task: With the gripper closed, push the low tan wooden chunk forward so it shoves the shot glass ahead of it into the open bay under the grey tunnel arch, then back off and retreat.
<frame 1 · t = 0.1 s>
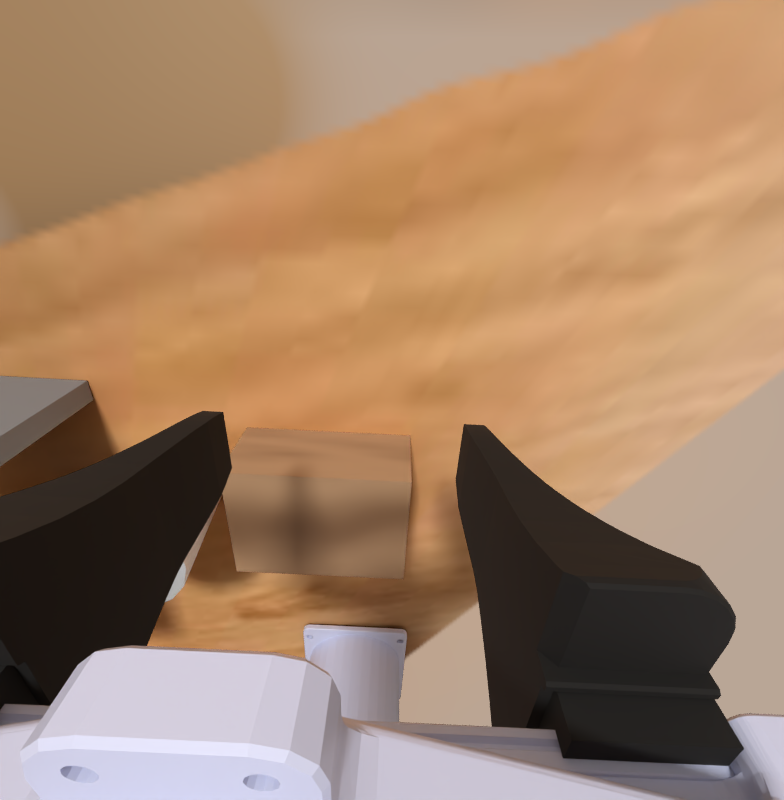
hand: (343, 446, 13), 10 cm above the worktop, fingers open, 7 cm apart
tan wooden chunk: (330, 476, 26), on the worktop
shot glass: (182, 469, 26), on the worktop
grey tunnel arch: (42, 464, 26), on the worktop
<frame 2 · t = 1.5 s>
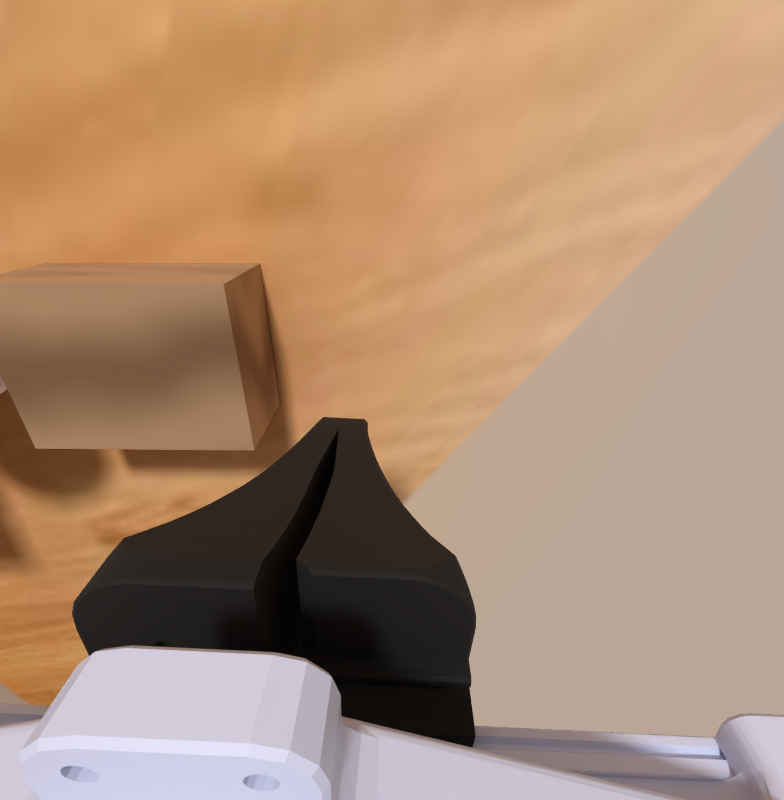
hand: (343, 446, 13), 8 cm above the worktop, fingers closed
tan wooden chunk: (175, 337, 20), on the worktop
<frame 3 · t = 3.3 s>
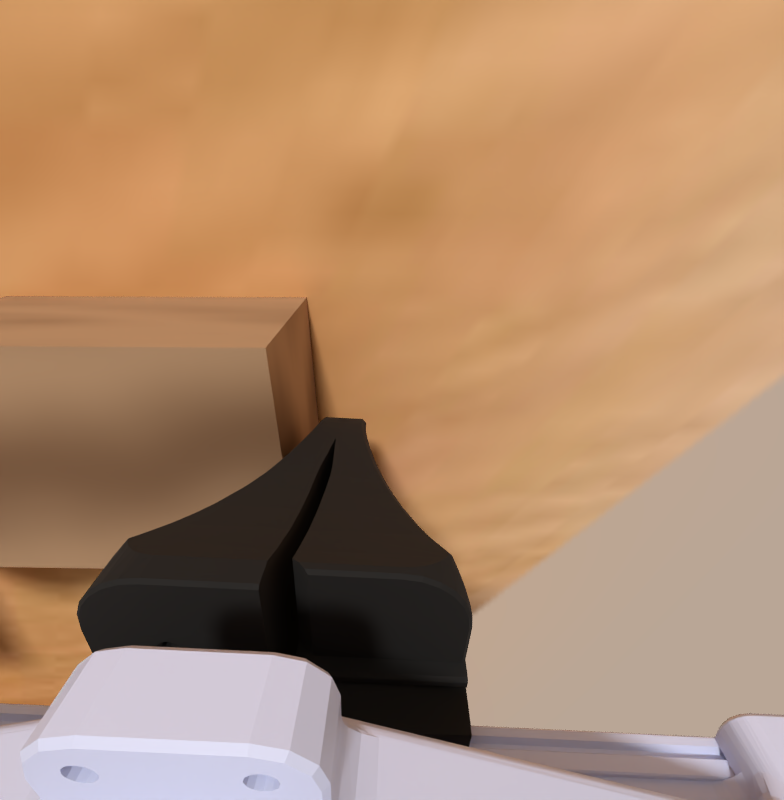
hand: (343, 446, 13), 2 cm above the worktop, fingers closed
tan wooden chunk: (182, 395, 15), on the worktop
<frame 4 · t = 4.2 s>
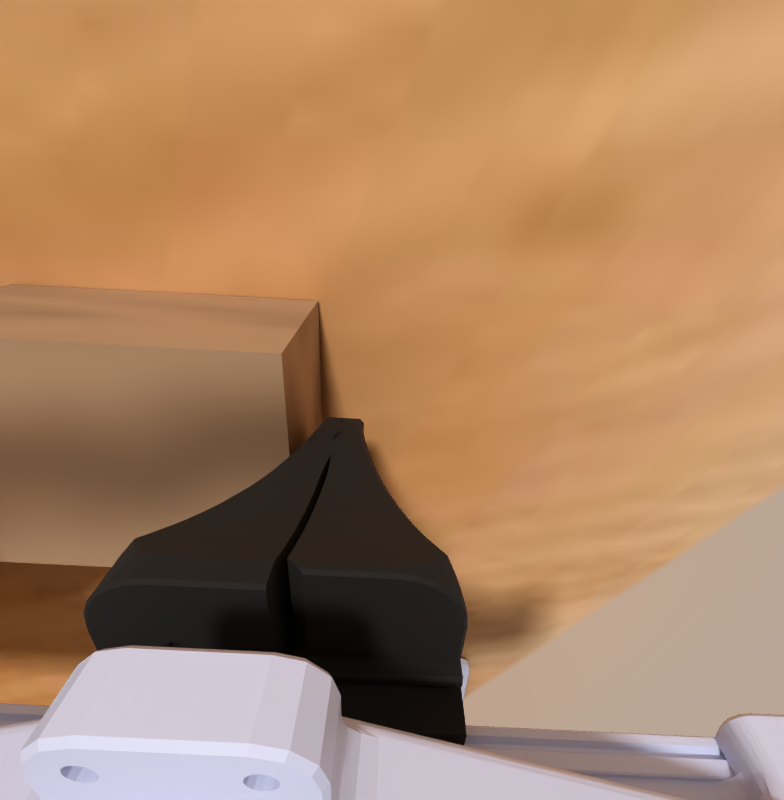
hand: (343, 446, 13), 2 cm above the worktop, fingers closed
tan wooden chunk: (185, 392, 15), on the worktop, touching gripper, shot glass
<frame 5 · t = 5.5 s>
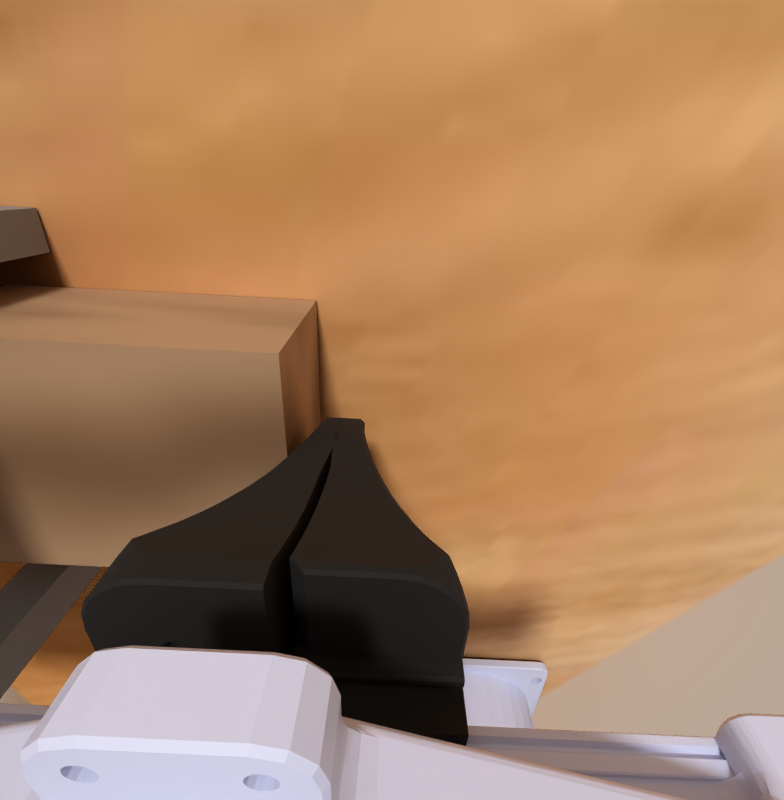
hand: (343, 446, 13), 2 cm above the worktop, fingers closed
tan wooden chunk: (184, 392, 15), on the worktop, touching gripper, shot glass
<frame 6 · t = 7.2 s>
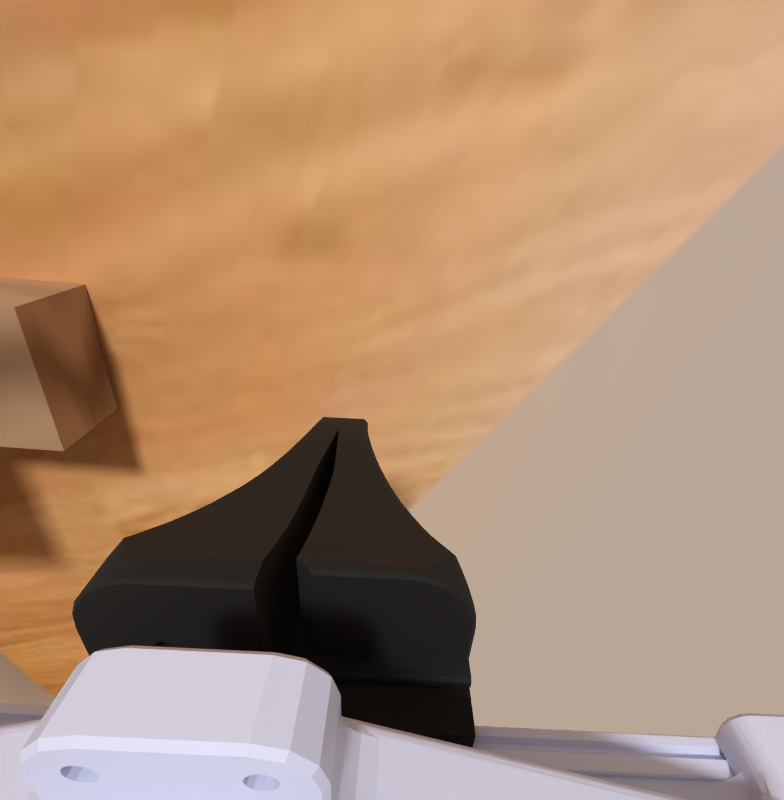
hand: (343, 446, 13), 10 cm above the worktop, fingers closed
tan wooden chunk: (15, 342, 22), on the worktop
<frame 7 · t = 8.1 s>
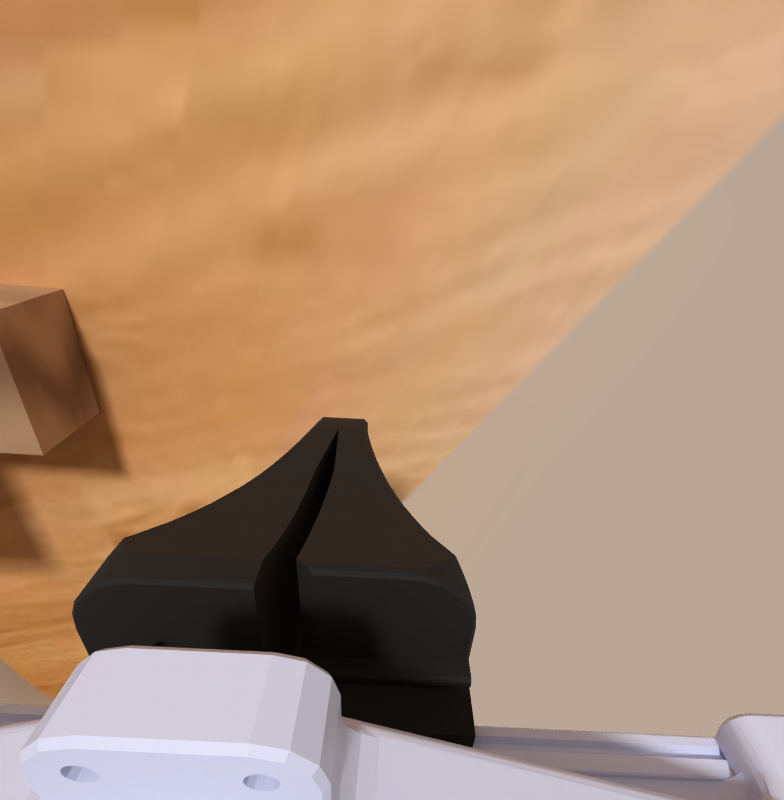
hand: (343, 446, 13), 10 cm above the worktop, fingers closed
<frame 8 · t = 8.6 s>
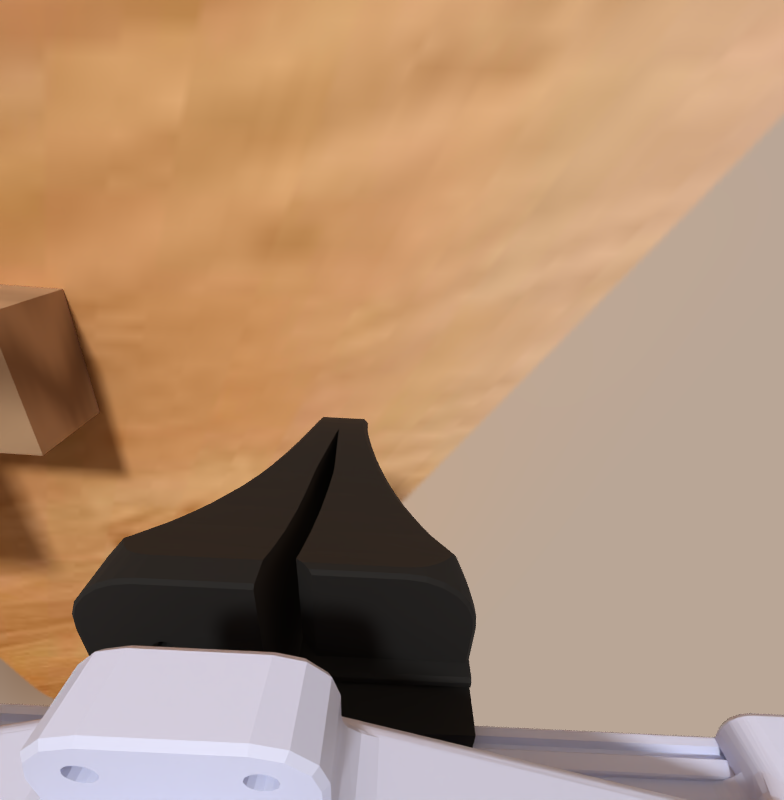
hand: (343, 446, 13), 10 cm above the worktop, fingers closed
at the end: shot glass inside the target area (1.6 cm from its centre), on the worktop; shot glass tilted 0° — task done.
